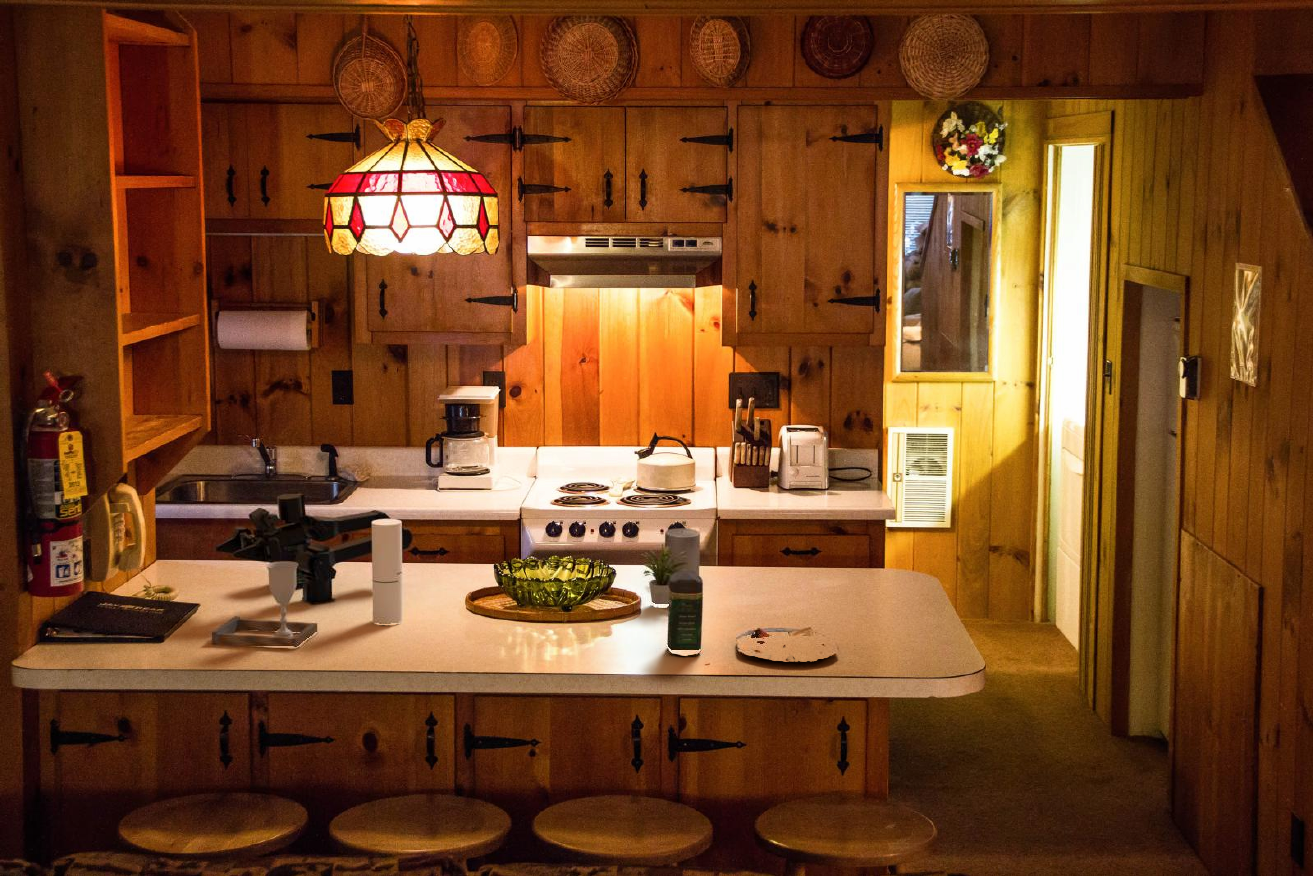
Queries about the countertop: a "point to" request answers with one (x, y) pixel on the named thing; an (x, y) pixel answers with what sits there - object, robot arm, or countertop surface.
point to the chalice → (282, 589)
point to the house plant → (662, 574)
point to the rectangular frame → (226, 636)
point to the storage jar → (290, 556)
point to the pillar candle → (684, 548)
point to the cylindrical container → (387, 571)
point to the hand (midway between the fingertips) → (224, 552)
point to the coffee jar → (685, 611)
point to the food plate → (792, 632)
